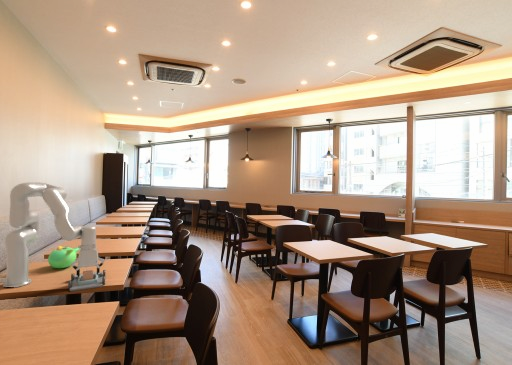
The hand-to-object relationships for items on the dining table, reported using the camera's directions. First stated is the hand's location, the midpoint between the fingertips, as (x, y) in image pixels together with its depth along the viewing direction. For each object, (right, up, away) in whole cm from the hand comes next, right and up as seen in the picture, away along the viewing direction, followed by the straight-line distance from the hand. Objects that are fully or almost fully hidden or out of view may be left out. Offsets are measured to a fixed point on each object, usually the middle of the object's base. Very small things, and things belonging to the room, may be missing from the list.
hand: (88, 275), depth 163 cm
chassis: (0, -4, 0) cm, 4 cm away
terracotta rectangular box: (0, -3, 0) cm, 3 cm away
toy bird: (-33, -4, +26) cm, 43 cm away
